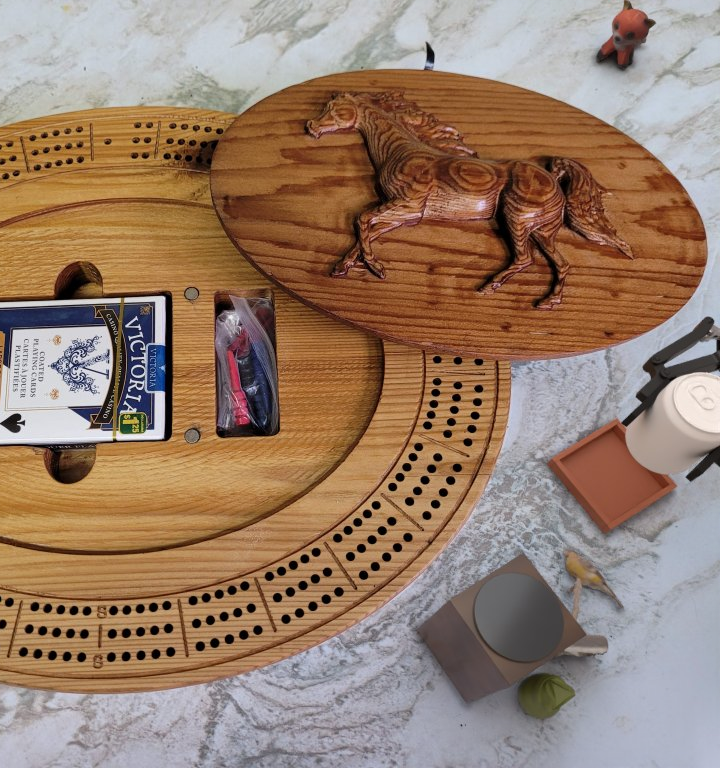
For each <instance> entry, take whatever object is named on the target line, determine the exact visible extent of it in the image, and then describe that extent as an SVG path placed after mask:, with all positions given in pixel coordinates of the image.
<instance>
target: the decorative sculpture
mask: <svg viewBox="0 0 720 768" xmlns="http://www.w3.org/2000/svg"><path fill="white" fill-rule="evenodd" d="M562 554H563V556H564V562H565V568H566V571H567V572H568V573H569V575H571V576H572V577H574V579H576V580H575V581H574V582H573V585H571V586H570V587H569V588H568V589H567V594H571V593H572V594H573V596H574V597H573V606H572V611H571V612H570V613H571V615H572V616H573V617H574V619H575V620H576V621H577V619H578V615H579V612H580V605H579V603H580V599H581V591H582V590H583V587H582V585H583V586H587V587H589V588H590V589H593V590H598V591H600V592H602V593H604V594H607V595H608V596H609V597H610V598H611V599H613V600H614V601H615V603H617V605H618V607H619V609H623V610H624V609H625V607H624V605H623V604H622V603H621V601H620V599H619V598H618V596H617V595H616V594H615V593H614V591H613V590H612V589H611V588H610V586H609V585H608V583H607V581H606V579H605V577H604V576H603V575H602V574H601V572H600V571H599V570H598V569H597V567H596V566H595V565H594V563H592V562H591V561H589V560H588V559H586V558H584V557H581V556H579V554H578V552H577V551H576V550H572V549H570V548H566V549H564V550H563V552H562ZM608 651H609V641H608V638H607V636H605V635H602V634H587V635H586V636H584V637H583V638H581V639H580V640H578V641H577V642H575V643H574V644H573V645H571V646H570V647H568V648H567V649H565V650H564V651H562V652H561V653H559V654H558V655H556V656H555V657H561V656H563V655H566V656H576V657H578V658H579V657H580V658H582V657H585V658H587V657H588V658H590V657H593V658H595V657H596V656H599V655H600V656H603V655H605V654H607V653H608Z"/></svg>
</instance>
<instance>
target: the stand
mask: <svg viewBox="0 0 720 768" xmlns="http://www.w3.org/2000/svg"><path fill="white" fill-rule="evenodd" d="M504 573H521V574H525V575H528V576H531V577H533V578H535V579H537V580H538V581H540V582H541V583H543V584H544V585H545V586H546V587H547V588H548V589H549V590H550V591H551V592H552V593H553V595H554V596H555V597H556V599H557V601H558V603H559V605H560V607H561V610H562V614H563V620H564V629H563V634H562V638H561V640H560V642H559V644H558V646H557V647H556V648H555V650H554V651H553V652H552V653H550V654H549V655H548V656H546V657H544V658H542V659H540V660H537V661H533V662H516V661H512V660H509V659H506V658H504V657H502V656H500V655H498V654H497V653H495V652H494V651H493V650H492V649H491V648H490V647H488V646H487V644H486V643H485V642H484V641H483V639H482V638H481V636H480V635H479V633H478V630H477V628H476V625H475V622H474V616H473V606H474V601H475V598H476V595H477V593H478V591H479V590H480V588H481V587H482V586H483V585H484V584H485V583H486V582H487V581H488V580H489V579H491V578H493V577H495V576H497V575H500V574H504ZM571 613H572V612H570V611H569V610H568V608H567V607H566V605H565V604H564V603H563V601H562V600H561V599H560V598H559V596H558V595H557V594H556V592H555V591H554V590H553V589H552V587H551V586H550V584H549V583H548V582H547V581H546V580H545V578H544V577H543V576H542V574H541V573H540V571H539V570H538V569H537V567H535V565H534V564H533V563H532V561H531V560H530V559H529V557H528V555H526V554H525V552H522V553H520V554H519V555H518V556H516V557H515V558H513V559H511V560H510V561H508V562H506V563H505V564H503V565H502V566H500V567H499V568H497V569H495V570H494V571H492V572H490V573H489V574H488V575H485V576H484V577H482V578H481V579H480V580H478V581H476V582H475V583H474V584H472V585H470V586H469V587H467V588H466V589H464V590H463V591H461V592H459V593H457V594H456V595H455V596H453V597H451V598H450V599H448V600H447V601H446V602H445V603H444V604H442V606H441V607H439V608H438V609H437V610H436V611H435V612H434V613H433V614H432V615H431V616H430V617H429V618H428V619H426V620H425V621H424V622H423V623H422V624H420V625H419V627H417V629H416V632H417V633H418V634H419V636H420V637H421V639H422V640H423V642H424V643H425V645H426V647H428V649H429V651H430V652H431V654H432V655H433V656H434V658H435V659H436V661H437V662H438V664H439V665H440V667H441V669H442V670H443V671H444V673H445V675H446V676H447V677H448V679H449V680H450V682H451V683H452V685H453V686H454V687H455V689H456V691H457V692H458V694H459V695H460V697H461V698H462V699H463V701H464V702H465V704H467V703H470V702H473V701H476V700H478V699H481V698H484V697H486V696H489V695H491V694H494V693H497V692H500V691H501V690H504V689H507V688H510V687H512V686H513V685H515V684H516V683H517V682H519V681H521V680H522V679H525V677H527V676H528V675H529V674H531V673H533V672H534V671H535V670H537V669H539V668H540V667H541V666H543V665H545V664H546V663H547V662H548V661H549V662H550V660H552V659H553V658H555V657H557V656H556V655H558V654H559V653H561V652H562V651H564V650H565V649H567V648H568V647H570V646H571V645H573V644H574V643H575V642H577V641H578V640H580V639H581V638H583V637H584V636H586V635H588V634H587V633H586V631H585V630H584V628H583V627H582V626H581V625H580V623H579V622H578V621H577V619H576V620H575V619H574V617H573V616H572V615H571Z"/></svg>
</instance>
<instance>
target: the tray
mask: <svg viewBox="0 0 720 768" xmlns="http://www.w3.org/2000/svg"><path fill="white" fill-rule="evenodd" d="M621 422H622V421H620V420H619V419H618V417H617V418H614V419H612V420H611V421H610V422H608V423H607V424H605V425H603V426H602V427H600V428H598V429H597V430H595V431H593V432H592V433H590V434H589V435H587V436H585V437H584V438H582V439H580V440H579V441H577V442H575V443H573V444H572V445H571V446H569V447H567V448H566V449H564V450H563V451H561V452H559V453H558V454H556V455H554V456H553V457H551V458H550V459H549V461H548V462H547V463H546V465H547V466H548V468H549V469H550V470H551V471H552V472H553V474H554V475H555V476H556V477H557V478H558V480H559V481H560V482H561V483H562V484H563V485H564V487H565V488H566V489H567V490H568V491H569V493H570V494H571V495H572V497H574V499H575V500H576V501H577V503H578V504H579V505H580V507H582V509H583V510H584V511H585V512H586V513H587V515H588V516H589V517H590V518H591V520H592V521H593V522H594V523H595V525H597V527H598V529H600V530H601V532H602V533H603V534H604V535H605V534H607V533H609V532H611V531H612V530H613V529H615V528H616V527H618V526H620V525H621V524H623V523H624V522H625V521H627V520H629V519H631V518H632V517H634V516H635V515H637V514H638V513H639V512H641V511H643V510H644V509H646V508H648V507H649V506H650V505H652V504H654V503H655V502H657V501H658V500H659V499H661V498H663V497H664V496H666V495H667V494H669V493H671V492H673V490H675V489H676V488H678V485H677V483H676V482H675V481H674V479H672V478H671V477H670V476H669V475H667V474H659V473H656V472H653V471H651V470H649V469H647V468H645V467H643V466H642V465H641V464H640V463H638V462H637V461H636V460H635V459H634V457H633V456H632V455H631V453H630V451H629V449H628V447H627V444H626V438H625V434H626V429H627V427H625V426H624V425H623V424H622V423H621Z"/></svg>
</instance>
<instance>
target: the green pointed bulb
mask: <svg viewBox="0 0 720 768" xmlns="http://www.w3.org/2000/svg"><path fill="white" fill-rule="evenodd" d="M575 697H576V691H575V689H574V687H572V686H570V685H569V684H568V683H567V682H566V681H565V679H563V678H562V677H561V676H559V675H556V674H551V673H550V672H549V673H548V672H537V673H534V674H531V675H529V676H526V678H523V680H522V681H521V682H520V684H519V686H518V688H517V700H518V703H519V704H520V706H521V708H522V709H523V711H524V712H525V713H527V714H528V715H529V716H531V717H533V718H535V719H538V720H546V719H550V718H552V717H555V715H556V714H558V712H559V711H560V710H561V708H562V706H564V705H565V704H567V703H568V702H569V701H572V699H573V698H575Z"/></svg>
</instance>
